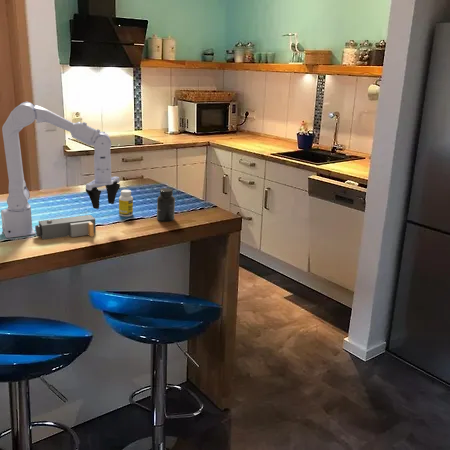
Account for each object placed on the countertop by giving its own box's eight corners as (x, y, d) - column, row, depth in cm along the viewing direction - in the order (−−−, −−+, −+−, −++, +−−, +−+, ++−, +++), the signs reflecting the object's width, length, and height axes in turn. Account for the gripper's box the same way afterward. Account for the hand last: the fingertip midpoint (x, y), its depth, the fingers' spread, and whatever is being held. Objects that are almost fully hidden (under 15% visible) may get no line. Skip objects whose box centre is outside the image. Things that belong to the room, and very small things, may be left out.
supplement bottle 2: (153, 220, 192) (153, 190, 188) (162, 215, 198) (162, 186, 194) (169, 223, 190) (169, 193, 186) (177, 218, 196) (178, 189, 192)
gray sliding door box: (38, 240, 166) (37, 224, 164) (35, 235, 170) (34, 219, 169) (95, 232, 176) (95, 217, 174) (91, 227, 180) (90, 213, 179)
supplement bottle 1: (129, 217, 194) (129, 193, 190) (116, 216, 195) (116, 191, 191) (135, 213, 199) (135, 189, 195) (122, 212, 200) (122, 188, 196)
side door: (73, 239, 168) (72, 226, 167) (70, 235, 171) (69, 223, 170) (93, 236, 172) (93, 224, 171) (90, 232, 175) (90, 220, 173)
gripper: (96, 173, 164) (97, 212, 169) (125, 166, 176) (126, 203, 181) (80, 170, 167) (82, 208, 172) (110, 163, 179) (111, 199, 184)
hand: (103, 205), depth 176 cm, fingers open, 7 cm apart
